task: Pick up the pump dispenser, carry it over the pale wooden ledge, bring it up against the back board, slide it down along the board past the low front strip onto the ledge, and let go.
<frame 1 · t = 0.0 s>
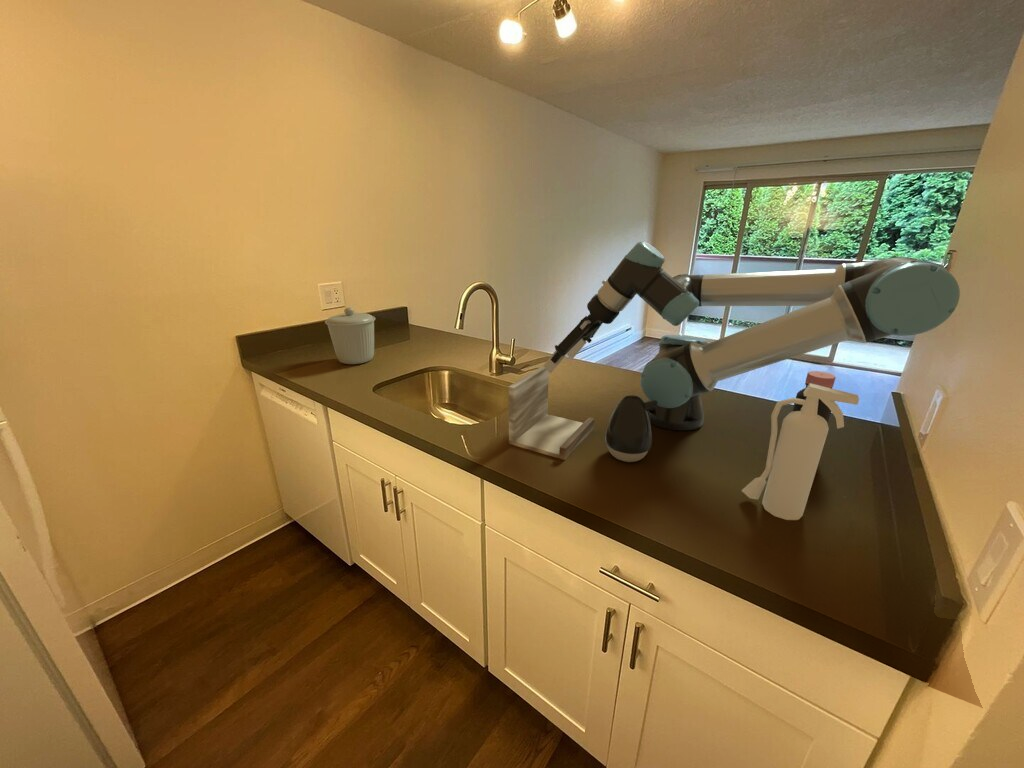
hand: (558, 362, 112), 15 cm above the table, tool tilted 35°, fingers open, 13 cm apart
ledge rack: (552, 436, 105), on the table
canister: (356, 361, 164), on the table
vinegar: (798, 457, 96), on the table
fire extinguisher: (777, 508, 79), on the table
pump dispenser: (626, 456, 96), on the table
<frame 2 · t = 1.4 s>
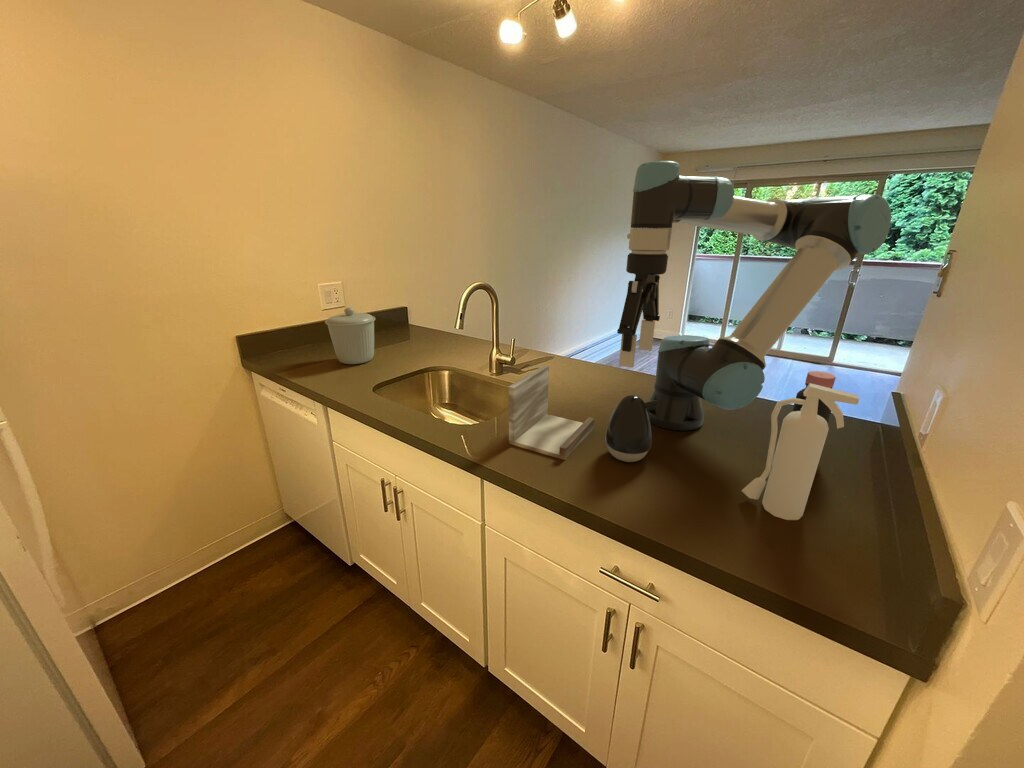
hand: (636, 357, 88), 24 cm above the table, tool pointing down, fingers open, 13 cm apart
nothing on the table moved.
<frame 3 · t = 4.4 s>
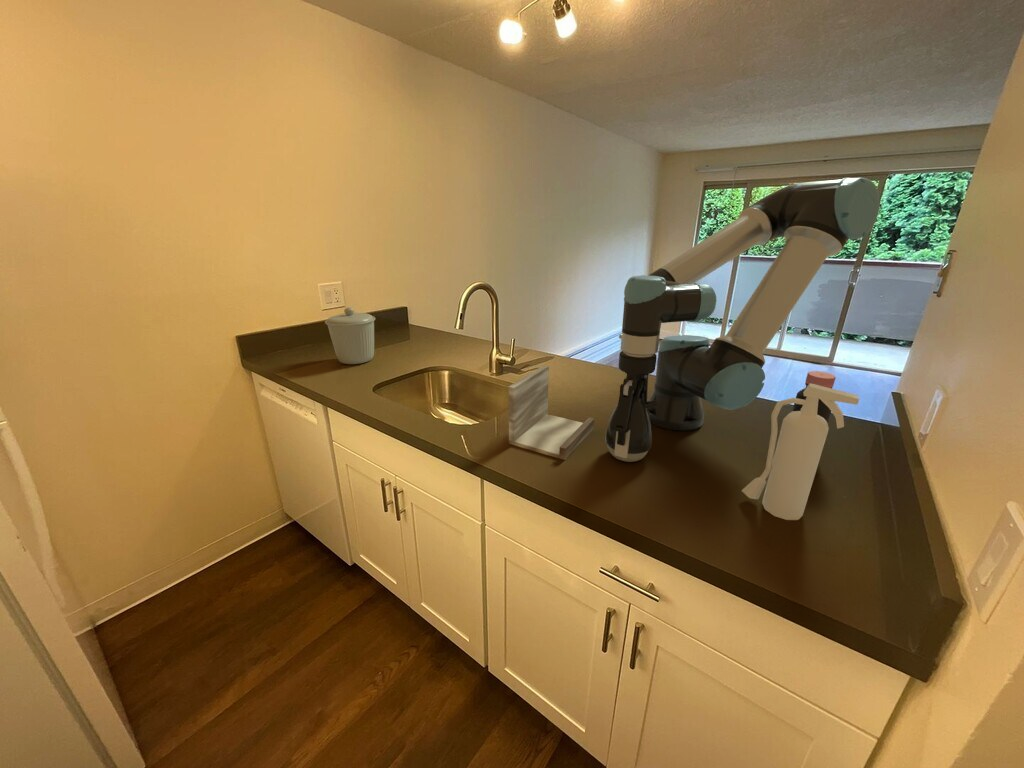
hand: (628, 445, 95), 3 cm above the table, tool pointing down, fingers closed on pump dispenser, 10 cm apart
pump dispenser: (626, 456, 96), on the table, touching gripper
everything else where it was.
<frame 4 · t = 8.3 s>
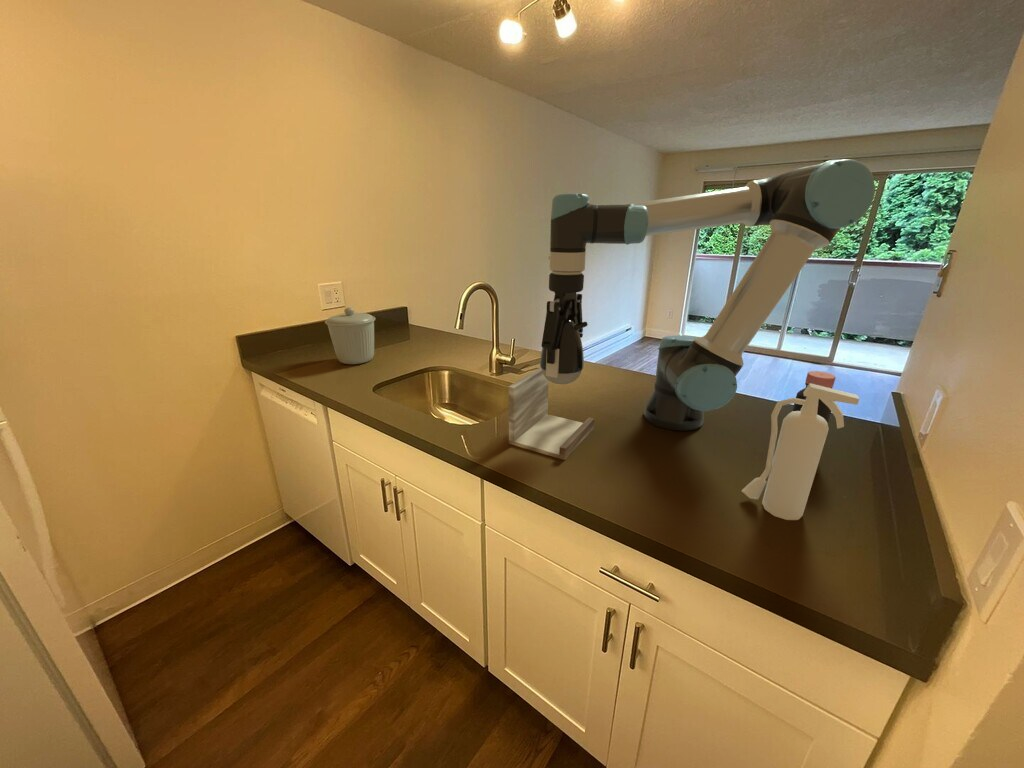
hand: (562, 369, 98), 18 cm above the table, tool pointing down, fingers closed on pump dispenser, 10 cm apart
pump dispenser: (561, 381, 99), point 15 cm above the table, touching gripper
everything else where it was.
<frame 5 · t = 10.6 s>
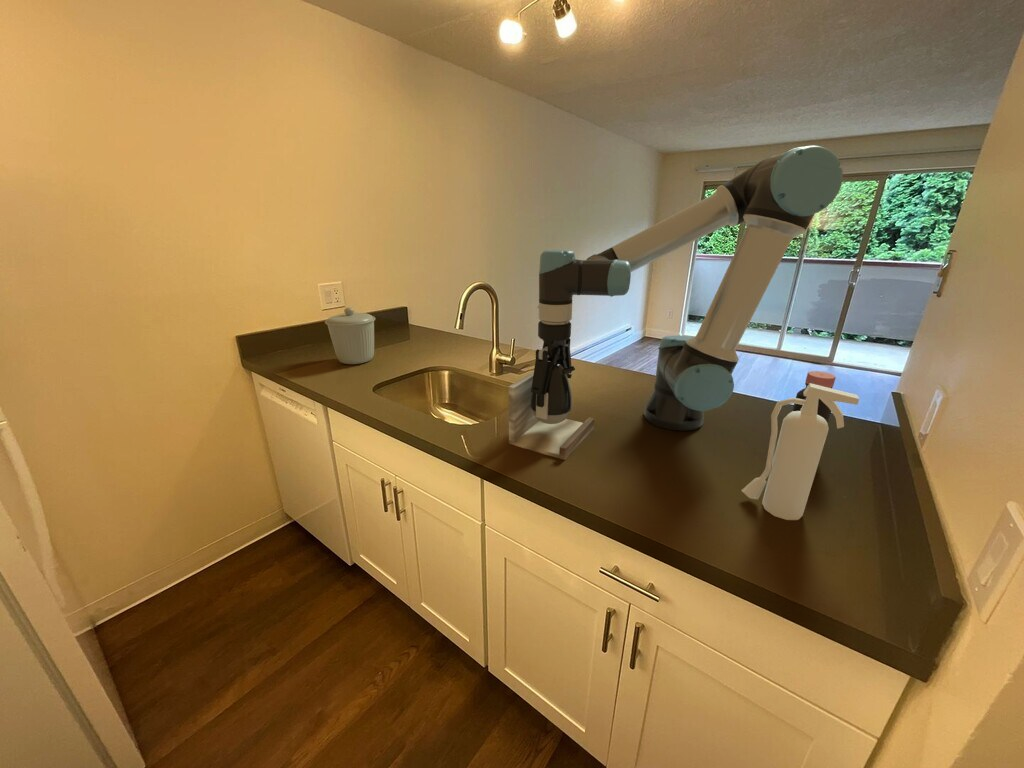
hand: (551, 409, 103), 7 cm above the table, tool pointing down, fingers closed on pump dispenser, 10 cm apart
pump dispenser: (551, 420, 104), point 4 cm above the table, touching gripper
everything else where it was.
when the fingers open (4 cm above the table, at t = 12.7 s): pump dispenser stays where it is, resting on ledge rack.
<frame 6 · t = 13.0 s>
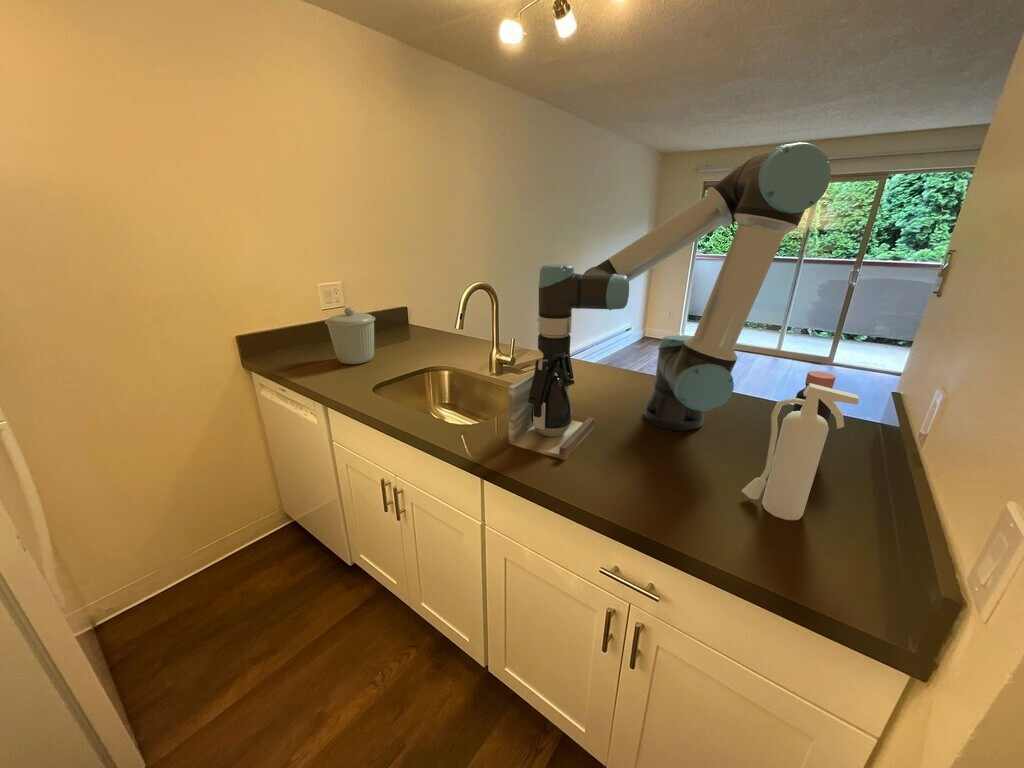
hand: (551, 417, 104), 5 cm above the table, tool pointing down, fingers open, 13 cm apart
pump dispenser: (551, 432, 105), point 1 cm above the table, touching ledge rack
everything else where it was.
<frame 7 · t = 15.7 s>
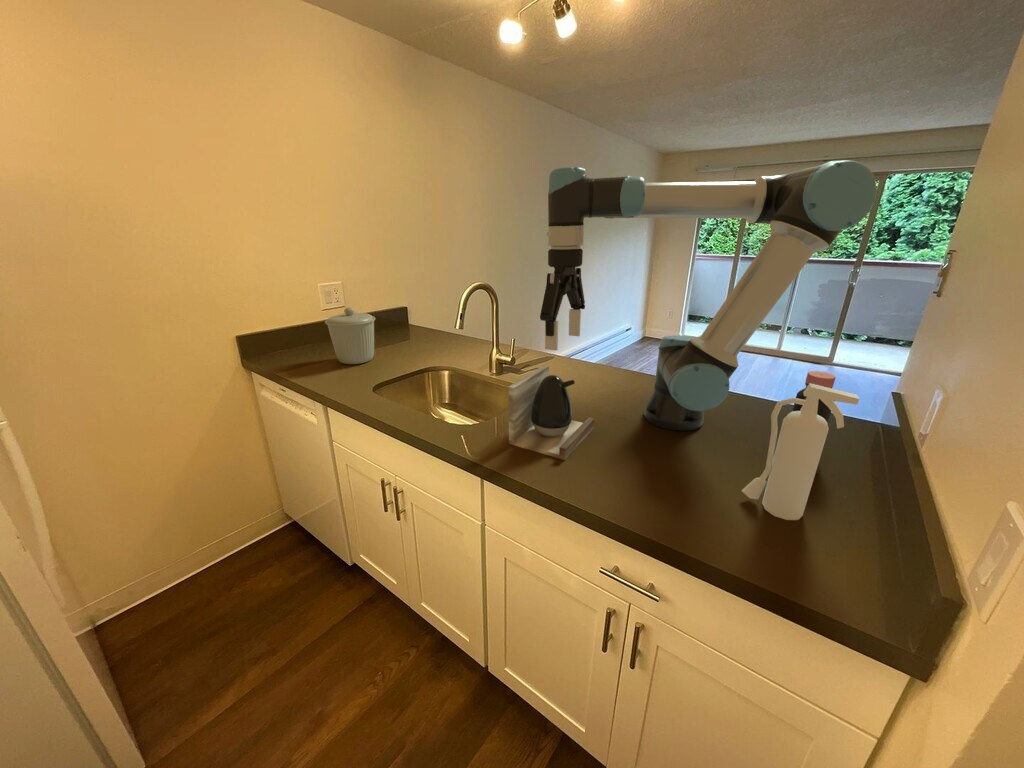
hand: (563, 342, 98), 24 cm above the table, tool pointing down, fingers open, 13 cm apart
nothing on the table moved.
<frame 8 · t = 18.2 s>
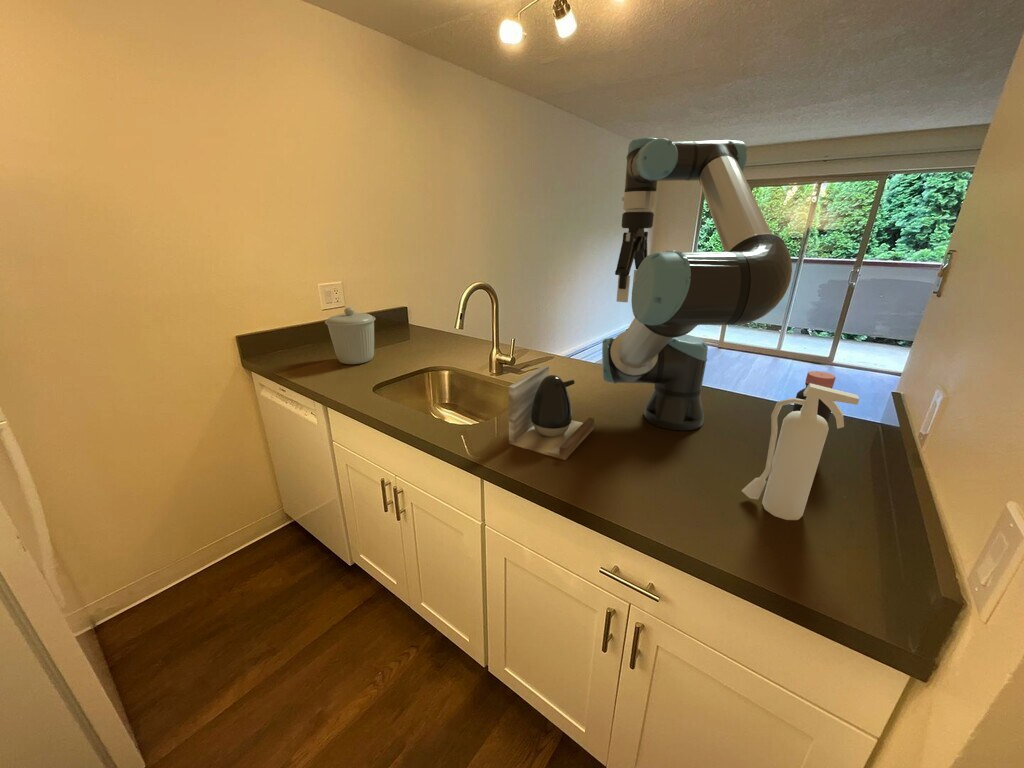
hand: (629, 298, 110), 32 cm above the table, tool pointing down, fingers open, 13 cm apart
nothing on the table moved.
at the end: pump dispenser 0.2 cm off-centre on the ledge rack, point 0.8 cm above the ledge rack's base; pump dispenser tilted 0°; the gripper is holding nothing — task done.
